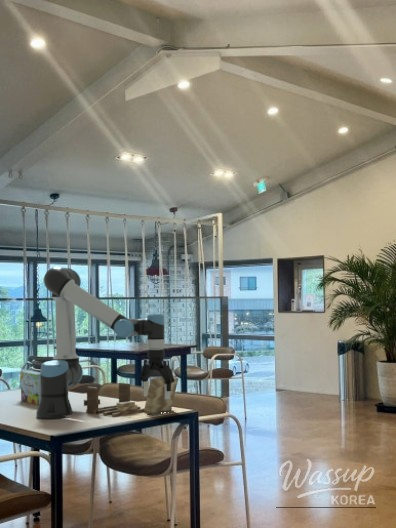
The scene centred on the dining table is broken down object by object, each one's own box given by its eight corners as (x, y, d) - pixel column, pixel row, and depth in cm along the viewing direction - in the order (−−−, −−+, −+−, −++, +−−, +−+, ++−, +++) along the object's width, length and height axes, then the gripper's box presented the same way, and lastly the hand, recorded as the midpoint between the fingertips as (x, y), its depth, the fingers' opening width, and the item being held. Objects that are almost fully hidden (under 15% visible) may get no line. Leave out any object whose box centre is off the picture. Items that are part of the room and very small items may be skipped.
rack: (111, 419, 271) (111, 390, 272) (83, 415, 284) (83, 387, 285) (151, 412, 287) (150, 385, 288) (122, 408, 300) (122, 382, 301)
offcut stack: (122, 414, 277) (122, 404, 277) (115, 413, 280) (115, 403, 280) (138, 412, 284) (138, 401, 284) (131, 411, 287) (131, 400, 287)
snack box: (19, 400, 333) (20, 370, 334) (30, 399, 337) (30, 370, 338) (36, 405, 316) (36, 373, 317) (47, 404, 320) (47, 373, 321)
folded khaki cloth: (148, 414, 281) (156, 381, 279) (143, 411, 283) (151, 378, 281) (171, 410, 292) (178, 378, 290) (166, 407, 294) (173, 375, 292)
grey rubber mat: (153, 416, 279) (153, 415, 279) (136, 413, 287) (136, 412, 287) (176, 411, 289) (176, 410, 289) (159, 409, 297) (159, 408, 297)
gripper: (182, 349, 284) (182, 399, 283) (143, 347, 301) (143, 394, 300) (169, 350, 279) (170, 400, 277) (131, 348, 296) (131, 396, 294)
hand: (156, 397), depth 288 cm, fingers open, 13 cm apart
